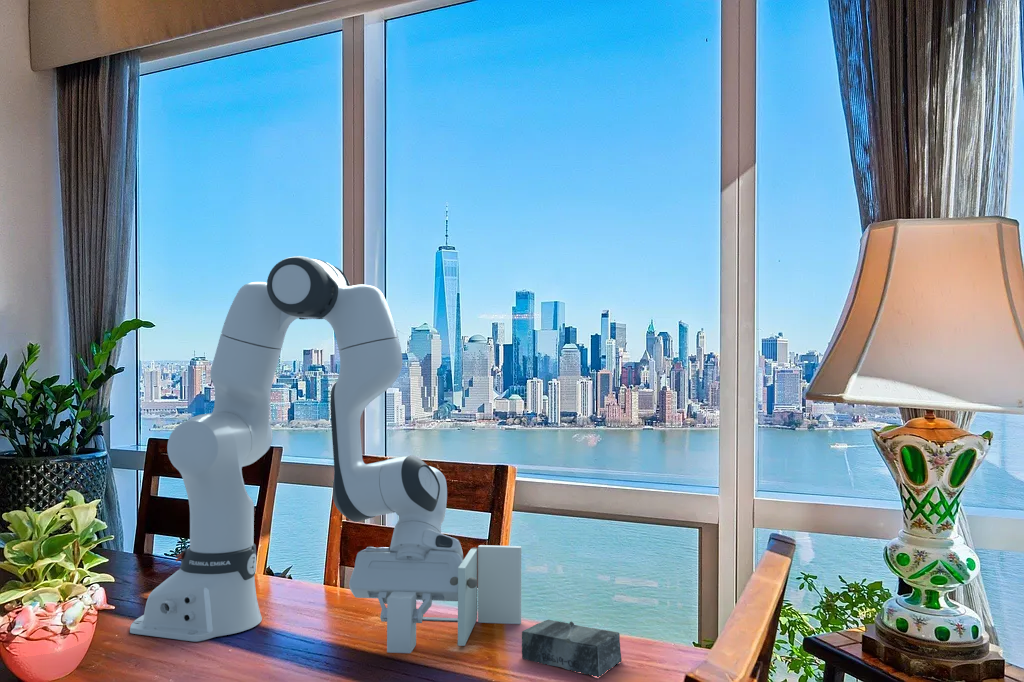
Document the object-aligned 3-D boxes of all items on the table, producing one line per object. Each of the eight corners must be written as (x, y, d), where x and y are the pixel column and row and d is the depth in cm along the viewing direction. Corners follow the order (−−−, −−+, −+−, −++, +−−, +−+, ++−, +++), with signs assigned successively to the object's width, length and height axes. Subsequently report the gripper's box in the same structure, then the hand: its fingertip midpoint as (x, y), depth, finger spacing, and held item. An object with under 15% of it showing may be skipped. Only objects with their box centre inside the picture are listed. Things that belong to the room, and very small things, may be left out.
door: (475, 646, 130) (475, 568, 130) (447, 645, 130) (447, 567, 131) (487, 617, 144) (487, 548, 145) (461, 617, 145) (462, 547, 145)
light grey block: (386, 652, 129) (387, 597, 129) (393, 643, 132) (393, 590, 133) (410, 653, 128) (410, 598, 128) (416, 644, 132) (416, 591, 132)
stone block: (550, 644, 133) (550, 613, 134) (625, 663, 125) (625, 630, 125) (520, 660, 126) (521, 627, 126) (598, 681, 118) (598, 646, 118)
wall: (398, 619, 145) (399, 544, 145) (400, 617, 146) (400, 542, 147) (520, 624, 143) (520, 547, 143) (521, 621, 144) (521, 546, 144)
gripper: (355, 537, 139) (336, 609, 129) (467, 540, 137) (457, 614, 127) (362, 556, 143) (345, 627, 133) (471, 559, 141) (462, 632, 131)
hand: (400, 620), depth 130 cm, fingers closed on light grey block, 4 cm apart
